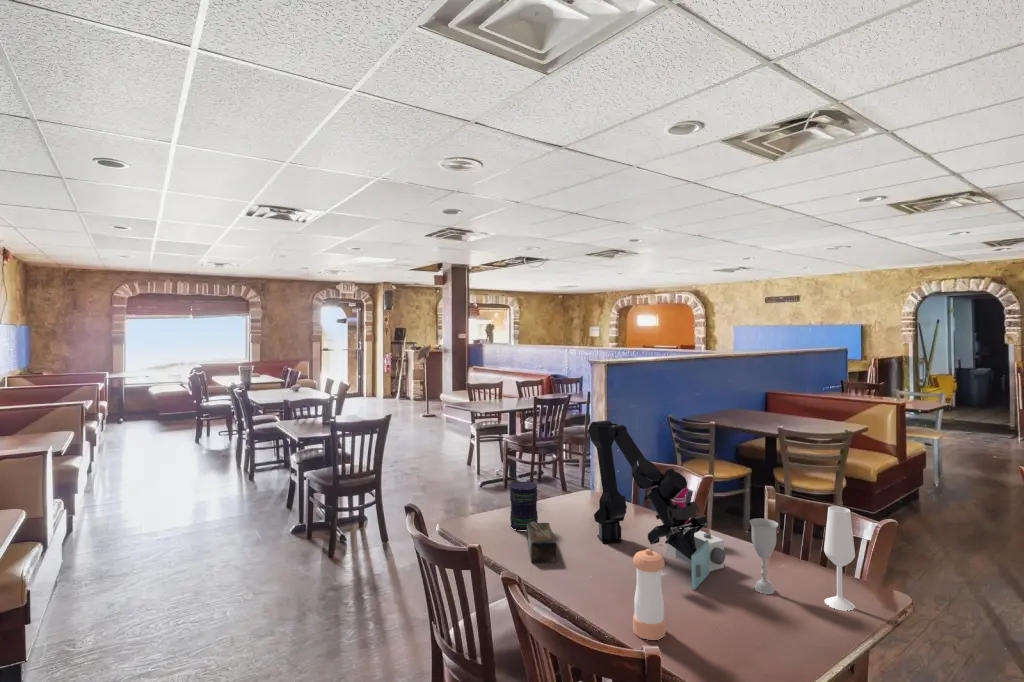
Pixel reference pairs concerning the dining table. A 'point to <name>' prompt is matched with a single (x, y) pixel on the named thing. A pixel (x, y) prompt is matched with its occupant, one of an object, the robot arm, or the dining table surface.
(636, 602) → the salt shaker
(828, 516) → the champagne flute
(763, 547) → the chalice
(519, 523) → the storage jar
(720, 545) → the case
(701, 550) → the hatch
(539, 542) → the beverage carton
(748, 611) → the dining table surface
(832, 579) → the dining table surface
